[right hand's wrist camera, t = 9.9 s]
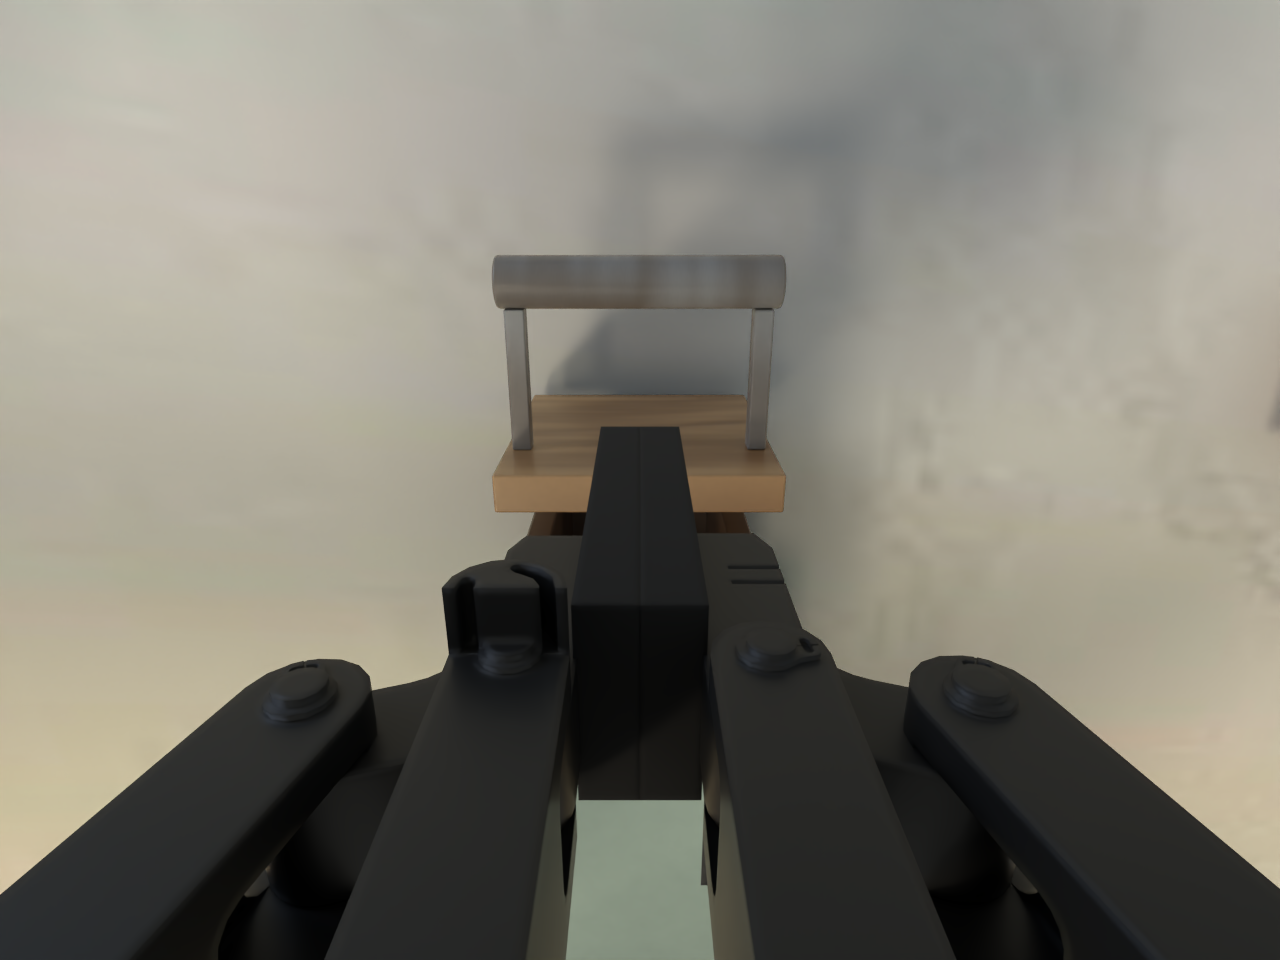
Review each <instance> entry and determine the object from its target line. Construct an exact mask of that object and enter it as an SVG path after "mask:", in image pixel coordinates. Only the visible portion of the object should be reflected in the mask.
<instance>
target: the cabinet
mask: <svg viewBox="0 0 1280 960" xmlns="http://www.w3.org/2000/svg"><path fill="white" fill-rule="evenodd" d="M576 817H577V845H576V856H575V866H574V877H573V887H572V898H571V909H570V919H569V930H568V941H567V951H566V960H714V950H713V940H712V929H711V918H710V908H709V897H708V886H707V885H701V866H702V842H703V817H704V793H703V784H702V800H578V788H577V797H576Z"/></svg>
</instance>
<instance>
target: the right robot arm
mask: <svg viewBox="0 0 1280 960" xmlns="http://www.w3.org/2000/svg"><path fill="white" fill-rule="evenodd" d="M442 595H443V604H444V613H445V622H446V631H447V640H448V649H449V656H448V658H447V661H446V663H445V666H444V668H443V671H442V672H440V673H438V674H436V675H433V676H431V677H429V678H426V679H422V680H418V681H415V682H411V683H407V684H402V685H397V686H392V687H387V688H382V689H378V690H373V691H372V688H371V682H370V676H369V675H368V674H367V673H366V672H365V671H364V670H363V669H362V668H361V667H360V666H359V665H356V664H353V663H350V662H347V661H344V660H337V659H316V660H307V661H305V662H304V661H301V662H297V663H293V664H290V665H288V666H286V667H283V668H280V669H278V670H275V671H273V672H270V673H268V674H266V675H264V676H263V677H261V678H260V679H258V680H257V681H255V682H254V683H252V684H250V685H249V686H247V687H246V688H245V689H243V690H242V691H241V692H240V693H239V694H237V695H236V696H235V697H234V698H233V699H232V700H230V701H229V702H228V703H227V704H226V705H224V706H223V707H222V708H221V709H220V710H219V711H217V712H216V713H215V714H214V715H213V716H211V717H210V718H209V719H208V720H207V721H206V722H204V723H203V724H202V725H201V726H200V727H198V728H197V729H196V730H195V731H194V732H192V733H191V734H190V735H189V736H188V737H187V738H185V739H184V740H183V741H182V742H181V743H179V744H178V745H177V746H176V747H175V748H174V749H172V750H171V751H170V752H169V753H168V754H166V755H165V756H164V757H163V758H162V759H161V760H159V761H158V762H157V763H156V764H155V765H153V766H152V767H151V768H150V769H149V770H148V771H146V772H145V773H144V774H143V775H142V776H140V777H139V778H138V779H137V780H136V781H134V782H133V783H132V784H131V785H130V786H129V787H127V788H126V789H125V790H124V791H123V792H121V793H120V794H119V795H118V796H117V797H116V798H114V799H113V800H112V801H111V802H110V803H108V804H107V805H106V806H105V807H104V808H103V809H101V810H100V811H99V812H98V813H97V814H95V815H94V816H93V817H92V818H91V819H89V820H88V821H87V822H86V823H85V824H84V825H82V826H81V827H80V828H79V829H78V830H76V831H75V832H74V833H73V834H72V835H71V836H69V837H68V838H67V839H66V840H65V841H63V842H62V843H61V844H60V845H59V846H58V847H56V848H55V849H54V850H53V851H52V852H50V853H49V854H48V855H47V856H46V857H44V858H43V859H42V860H41V861H40V862H39V863H37V864H36V865H35V866H34V867H33V868H31V869H30V870H29V871H28V872H27V873H26V874H24V875H23V876H22V877H21V878H20V879H18V880H17V881H16V882H15V883H14V884H13V885H11V886H10V887H9V888H8V889H7V890H5V891H4V892H3V893H2V894H1V895H0V960H566V951H567V941H568V930H569V919H570V909H571V898H572V887H573V877H574V866H575V856H576V845H577V817H576V797H577V788H578V800H702V784H703V793H704V817H703V842H702V866H701V885H707V886H708V897H709V908H710V918H711V929H712V940H713V950H714V960H1280V889H1279V888H1278V887H1277V886H1276V885H1275V884H1273V883H1272V882H1271V881H1270V880H1269V879H1267V878H1266V877H1265V876H1264V875H1263V874H1261V873H1260V872H1259V871H1258V870H1257V869H1255V868H1254V867H1253V866H1252V865H1251V864H1250V863H1248V862H1247V861H1246V860H1245V859H1244V858H1242V857H1241V856H1240V855H1239V854H1238V853H1236V852H1235V851H1234V850H1233V849H1232V848H1230V847H1229V846H1228V845H1227V844H1226V843H1224V842H1223V841H1222V840H1221V839H1220V838H1218V837H1217V836H1216V835H1215V834H1214V833H1213V832H1211V831H1210V830H1209V829H1208V828H1207V827H1205V826H1204V825H1203V824H1202V823H1201V822H1199V821H1198V820H1197V819H1196V818H1195V817H1193V816H1192V815H1191V814H1190V813H1189V812H1187V811H1186V810H1185V809H1184V808H1183V807H1181V806H1180V805H1179V804H1178V803H1177V802H1175V801H1174V800H1173V799H1172V798H1171V797H1170V796H1168V795H1167V794H1166V793H1165V792H1164V791H1162V790H1161V789H1160V788H1159V787H1158V786H1156V785H1155V784H1154V783H1153V782H1152V781H1150V780H1149V779H1148V778H1147V777H1146V776H1144V775H1143V774H1142V773H1141V772H1140V771H1138V770H1137V769H1136V768H1135V767H1134V766H1132V765H1131V764H1130V763H1129V762H1128V761H1127V760H1125V759H1124V758H1123V757H1122V756H1121V755H1119V754H1118V753H1117V752H1116V751H1115V750H1113V749H1112V748H1111V747H1110V746H1109V745H1107V744H1106V743H1105V742H1104V741H1103V740H1101V739H1100V738H1099V737H1098V736H1097V735H1095V734H1094V733H1093V732H1092V731H1091V730H1089V729H1088V728H1087V727H1086V726H1085V725H1084V724H1082V723H1081V722H1080V721H1079V720H1078V719H1076V718H1075V717H1074V716H1073V715H1072V714H1070V713H1069V712H1068V711H1067V710H1066V709H1064V708H1063V707H1062V706H1061V705H1060V704H1058V703H1057V702H1056V701H1055V700H1054V699H1052V698H1051V697H1050V696H1049V695H1048V694H1046V693H1045V692H1044V691H1043V690H1042V689H1041V688H1039V687H1038V686H1037V685H1036V684H1034V683H1033V682H1031V681H1030V680H1028V679H1027V678H1025V677H1024V676H1022V675H1020V674H1019V673H1017V672H1016V671H1014V670H1012V669H1009V668H1007V667H1004V666H1002V665H999V664H996V663H994V662H992V661H989V660H985V659H981V658H974V657H969V656H938V657H935V658H932V659H929V660H926V661H923V662H921V663H920V664H919V665H918V666H917V667H916V668H915V669H914V670H913V671H912V672H911V676H910V682H909V687H904V686H899V685H894V684H889V683H884V682H879V681H874V680H870V679H866V678H863V677H859V676H855V675H852V674H850V673H847V672H845V671H843V670H840V669H838V668H837V667H836V665H835V662H834V660H833V657H832V655H831V653H830V652H829V650H828V649H827V648H826V646H825V645H824V644H823V642H822V641H821V640H820V639H818V638H816V637H815V636H813V635H812V634H810V633H809V632H807V631H805V630H803V629H802V627H801V624H800V621H799V619H798V616H797V613H796V611H795V608H794V605H793V603H792V600H791V597H790V595H789V592H788V589H787V587H786V584H784V578H783V576H782V573H781V570H780V569H779V565H778V562H777V560H776V557H775V554H774V552H773V549H772V548H771V547H770V546H769V545H768V544H766V543H765V542H764V541H762V540H761V539H760V538H759V537H757V536H756V535H755V534H754V533H697V530H696V524H695V518H694V512H693V506H692V500H691V494H690V488H689V482H688V476H687V470H686V465H685V459H684V453H683V447H682V441H681V435H680V429H679V427H601V429H600V435H599V441H598V447H597V453H596V459H595V465H594V470H593V476H592V482H591V488H590V494H589V500H588V506H587V512H586V518H585V524H584V530H583V536H526V537H525V538H523V539H522V540H521V541H519V542H518V543H517V544H516V545H514V546H513V547H512V548H511V549H509V550H508V552H507V555H506V557H505V560H498V561H490V562H486V563H483V564H479V565H475V566H472V567H469V568H467V569H465V570H463V571H461V572H460V573H458V574H456V575H454V576H452V577H451V578H450V579H449V581H448V582H447V583H446V584H445V585H444V586H443V587H442Z"/></svg>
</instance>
